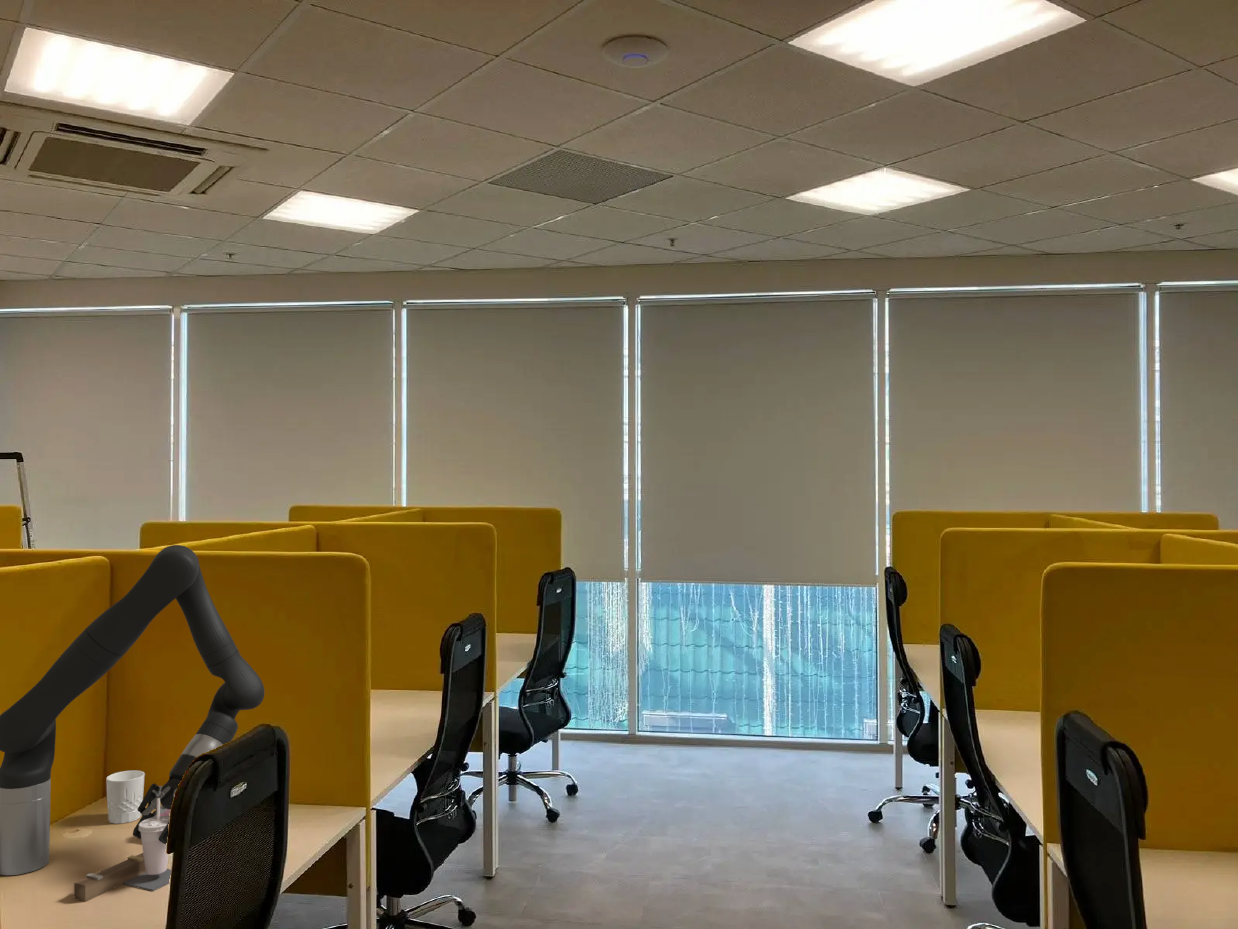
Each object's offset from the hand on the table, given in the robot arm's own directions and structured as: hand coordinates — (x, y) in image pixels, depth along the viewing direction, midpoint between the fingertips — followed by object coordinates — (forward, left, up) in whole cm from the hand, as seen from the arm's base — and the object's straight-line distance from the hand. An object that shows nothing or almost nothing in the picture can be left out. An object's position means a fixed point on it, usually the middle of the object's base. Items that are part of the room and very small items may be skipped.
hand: (149, 839), depth 178 cm
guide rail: (-6, -2, -8) cm, 10 cm away
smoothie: (0, +2, -7) cm, 7 cm away
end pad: (0, +2, -8) cm, 9 cm away
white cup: (-34, +23, -9) cm, 42 cm away
